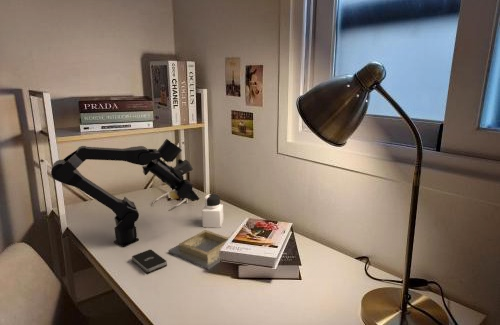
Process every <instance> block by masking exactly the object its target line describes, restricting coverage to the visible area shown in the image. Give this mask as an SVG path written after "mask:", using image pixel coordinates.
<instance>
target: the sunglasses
mask: <svg viewBox="0 0 500 325" xmlns="http://www.w3.org/2000/svg"><path fill="white" fill-rule="evenodd" d="M165 196H168V199H169V198H171V199H170V200H172V199H173V200H174V199H176V200H181V199H182V200H181V201H180V202H179V203H177V204H175V205H174V206H172V207H171V208H169V209H167V210H166V212H170V211H171V210H173V209H175V208H176V207H179V206H180V205H181V204H182V203H184V202H186V204H188V202H189V199H186V198H180V197H178V196H177V195H176V193H175V189H172V190H168V192H165V193H164V194H162V195H161V196H158V197H157V198H156V199H155V200H154V201H153V203H152V204H151V207H154V205H155V203H156V202H157V201H158V200H160V199H161V198H162V197H165Z"/></svg>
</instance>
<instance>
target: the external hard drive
mask: <svg viewBox="0 0 500 325" xmlns="http://www.w3.org/2000/svg"><path fill="white" fill-rule="evenodd" d="M131 261H132V263H134V264H135V265H136V266H138V267H139V269H141V270H142V271H143V272H144V273H145V274H147V275H149V274H152V273H155V272H156V271H158V270H161V269H163V268H166V267H167V266H168V264H167V263H168V262H167V259H165V258H164V257H162V256H161V255H160V254H159V253H157V252H155V251H154V250H153V249H152V248H151V249H150V248H149V249H148V250H144V251H142V252H139V253H137V254H133V255H132V256H131Z"/></svg>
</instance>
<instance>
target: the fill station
mask: <svg viewBox="0 0 500 325" xmlns="http://www.w3.org/2000/svg"><path fill="white" fill-rule="evenodd" d="M228 238H229V237H228V236H224V235H221V234H219V233H215V232H213V231H211V230H210V231H209V230H207V229H205V230H203V231H201V232H199V233H196V234H195V235H193V236H192V237H189V238H188V239H186V240H184V241H182V242H180V243H179V244H178V245H176V246H174V247H172V248H170V249H168V254H171V255H172V256H176V257H177V258H180V259H182V260H183V261H187V262H190V263H192V264H194V265H196V266H199V267H202V268H204V269H206V270H210V269H212V268H213V267H215V266H216V265H218V264H219V263H220V261H219V250H220V248H221V247H222V246H223V245H224V243H225V242H226V241H227V240H228Z"/></svg>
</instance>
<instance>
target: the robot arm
mask: <svg viewBox="0 0 500 325" xmlns="http://www.w3.org/2000/svg"><path fill="white" fill-rule="evenodd" d="M182 151H183V150H182V149H181V148H180V147H179V146H178V145H176V144H175V143H174V142H171V140H169V139H168V138H166V139H165V140H164V141H163V143H162V144H161V146H159V148H158V149H157V148H147V147H146V146H143V145H138V146H130V147H126V148H119V147H117V148H114V147H98V146H97V147H95V146H87V145H82V146H79V147H77V149H76V150H74V151H73V152H71V153H70V154H69V155H67V156H65V157H64V158H62V159H59V160H56V161H55V162H54V163H53V165H52V168H51V169H50V170H51V171H50V174H51V177H52V179H54V180H55V181H56V182H58V183H61V184H64V185H67V186H70V187H75V188H76V189H78V190H80V191H81V192H83V193H84V194H86V195H88V196H89V197H91V198H92V199H94V200H96V201H97V202H98V203H100V204H102V205H103V206H105V207H106V208H108V209H110V210H111V211H113V213H114V214H115V216H114V222H115V227H114V235H115V236H114V237H115V240H113V243H114V244H116V245H117V246H121V247H124V248H125V247H128V246H130V245H131V244H134V243H137V242H138V241H140V238H139V237H138V233H137V232H138V231H137V226H136V222H137V221H138V220H139V216H140V214H139V212H138V209H137V206H136V203H135V202H134V201H132V200H130V199H128V197H126V196H124V197H123V199H120V198H118V197H116V196H115V195H113V194H112V193H110V192H108V191H107V190H105V189H104V188H102V187H101V186H100V185H98V184H96V183H95V182H93V181H92V180H90V179H88V178H86V176H84V175H83V174H82V173H81V172H80V171H79V170H78V168H79V167H80V166H81V165H82V164H83V163H84V162H85V161H86V160H87V161H88V160H91V161H92V160H94V161H116V162H117V161H118V162H120V161H121V162H127V163H130V164H134V165H138V166H141V167H142V173H143V175H144V176H147V175H148V174H149V172H150V174H152V175H154V176H155V177H157V178H158V179H159V180H160V181H161V182H163V183H165V184H166V185H167V186H169V188H170V189H172V190H175V193H176V195H177V196H178V197H180V199H182V198H186V199H188V200H192V201H193V200H194V201H199V200H200V197H199V196H198V195H197V194H196V193H195V191H194V190H193V186H194V185H193V183H191V181H189V180H188V179H185V176H184V175H185V174H187V173H189V172H192V171H193V170H194V168H193V166H192V164H191V163H190V161H189V160H188V159H181V158H178V159H177V160H176V164H175V166H172V165H168V164H167V163H171V162H174V160H175V159H176V158H177V157H178V156H179V154H180V153H181V152H182ZM162 159H163V160H162ZM166 162H167V163H166Z"/></svg>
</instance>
